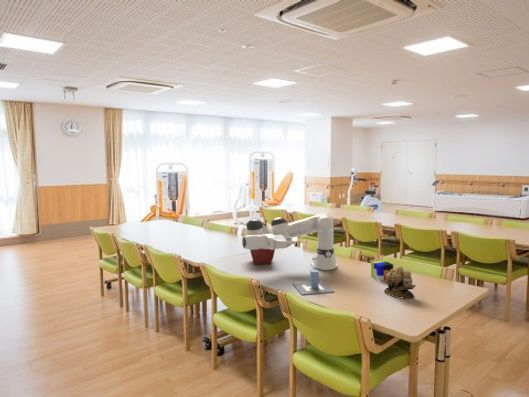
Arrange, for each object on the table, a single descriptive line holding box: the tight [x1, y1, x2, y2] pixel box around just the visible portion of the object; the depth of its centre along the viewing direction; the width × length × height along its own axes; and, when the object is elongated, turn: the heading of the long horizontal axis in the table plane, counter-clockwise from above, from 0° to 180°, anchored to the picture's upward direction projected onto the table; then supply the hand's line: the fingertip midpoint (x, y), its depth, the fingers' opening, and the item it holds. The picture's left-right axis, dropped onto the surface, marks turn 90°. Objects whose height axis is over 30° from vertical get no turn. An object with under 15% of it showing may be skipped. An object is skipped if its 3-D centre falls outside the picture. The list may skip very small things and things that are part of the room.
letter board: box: [292, 280, 335, 296], centre depth 238 cm, size 20×20×1 cm
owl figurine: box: [383, 265, 417, 299], centre depth 225 cm, size 18×12×17 cm, turn 46°
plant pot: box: [249, 248, 276, 265], centre depth 297 cm, size 19×19×17 cm
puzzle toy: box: [370, 260, 394, 281], centre depth 255 cm, size 10×10×10 cm
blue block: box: [309, 269, 320, 288], centre depth 238 cm, size 4×4×10 cm
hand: (292, 240), depth 234 cm, fingers open, 8 cm apart
